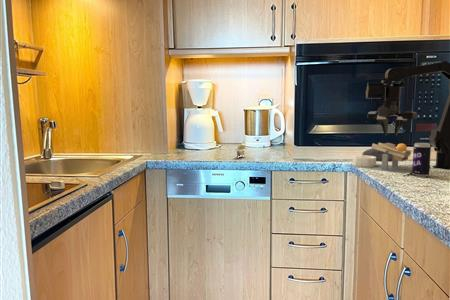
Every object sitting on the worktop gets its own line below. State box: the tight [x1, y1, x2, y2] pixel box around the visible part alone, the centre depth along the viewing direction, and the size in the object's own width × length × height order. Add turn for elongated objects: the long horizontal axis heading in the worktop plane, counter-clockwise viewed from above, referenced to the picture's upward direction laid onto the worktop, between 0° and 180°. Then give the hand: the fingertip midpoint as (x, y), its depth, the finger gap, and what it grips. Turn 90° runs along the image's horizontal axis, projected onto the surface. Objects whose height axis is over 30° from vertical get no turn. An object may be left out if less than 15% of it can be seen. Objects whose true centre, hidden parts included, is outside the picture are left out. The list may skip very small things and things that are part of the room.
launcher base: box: [345, 154, 414, 177], centre depth 148 cm, size 14×24×7 cm, turn 42°
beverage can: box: [411, 142, 432, 178], centre depth 135 cm, size 6×6×12 cm
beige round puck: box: [352, 154, 377, 167], centre depth 153 cm, size 9×9×4 cm
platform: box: [234, 144, 248, 158], centre depth 183 cm, size 12×18×7 cm, turn 161°
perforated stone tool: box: [361, 147, 392, 162], centre depth 167 cm, size 15×5×7 cm, turn 79°
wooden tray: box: [371, 142, 413, 162], centre depth 147 cm, size 16×13×4 cm
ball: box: [396, 143, 408, 152], centre depth 141 cm, size 4×4×4 cm
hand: (390, 135), depth 155 cm, fingers open, 4 cm apart
